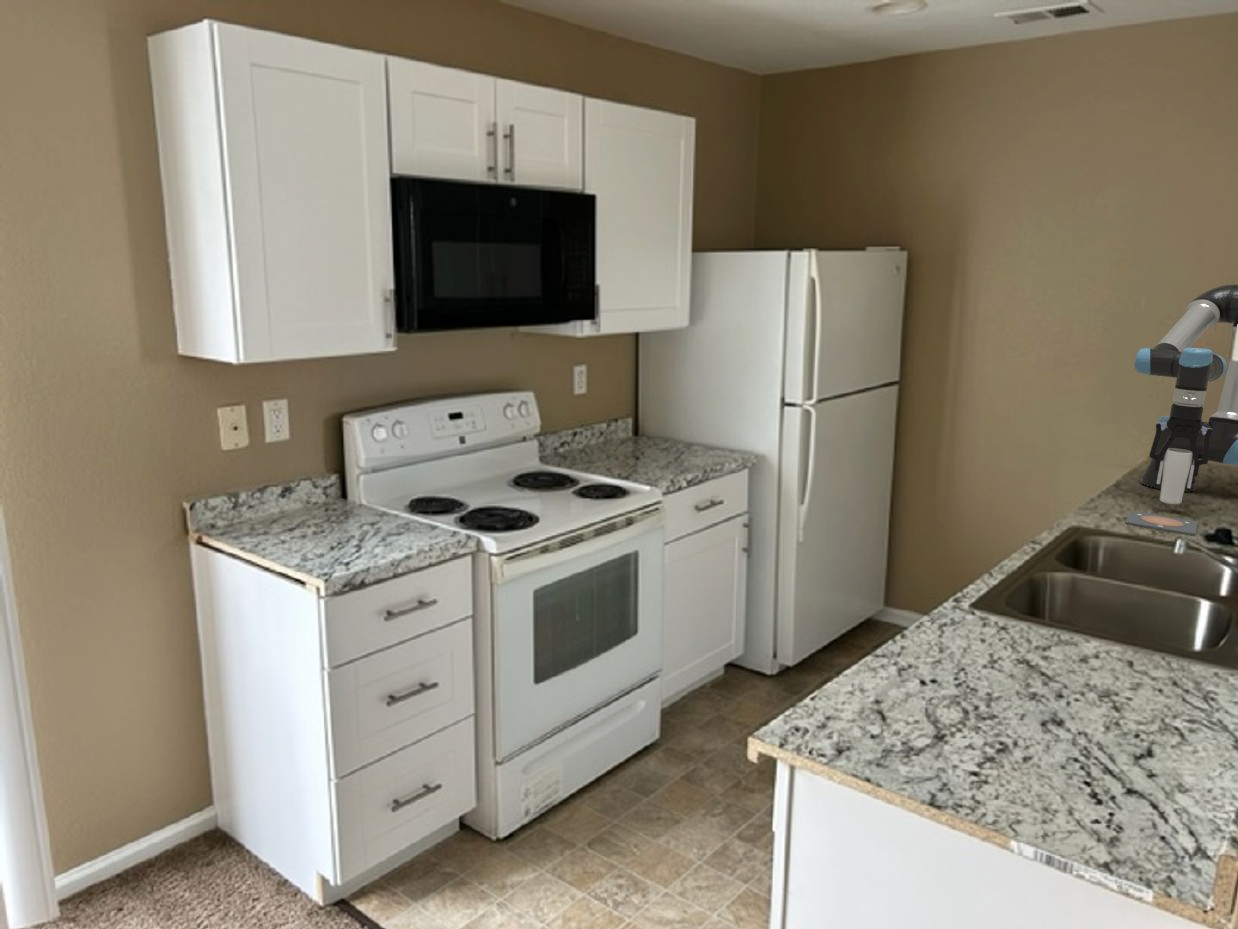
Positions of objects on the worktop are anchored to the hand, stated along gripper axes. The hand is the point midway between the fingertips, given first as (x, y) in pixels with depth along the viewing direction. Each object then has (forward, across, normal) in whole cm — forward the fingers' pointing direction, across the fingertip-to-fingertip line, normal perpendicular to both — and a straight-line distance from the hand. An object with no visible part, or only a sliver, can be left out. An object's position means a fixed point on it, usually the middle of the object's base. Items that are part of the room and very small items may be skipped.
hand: (1173, 485), depth 261 cm
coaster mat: (+8, -2, -18) cm, 19 cm away
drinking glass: (+5, 0, 0) cm, 5 cm away
